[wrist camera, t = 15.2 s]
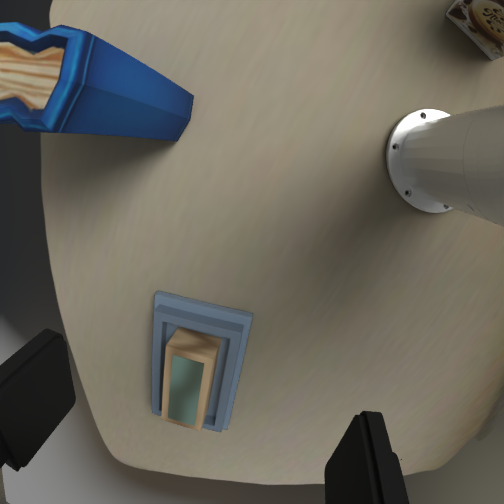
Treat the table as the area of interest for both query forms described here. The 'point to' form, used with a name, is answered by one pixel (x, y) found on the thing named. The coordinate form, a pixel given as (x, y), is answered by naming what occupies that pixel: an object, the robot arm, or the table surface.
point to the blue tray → (208, 322)
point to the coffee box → (481, 23)
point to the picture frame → (189, 377)
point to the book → (84, 86)
